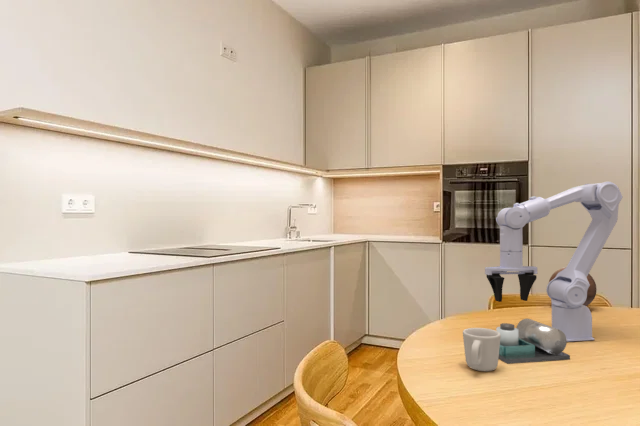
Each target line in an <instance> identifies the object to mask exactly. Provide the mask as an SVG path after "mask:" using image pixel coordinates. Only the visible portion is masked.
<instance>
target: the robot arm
mask: <svg viewBox="0 0 640 426" xmlns="http://www.w3.org/2000/svg"><path fill="white" fill-rule="evenodd" d="M528 199H529V200H526V201H523V202H520V203H519V202H515V203H513V206H512V207H505V208H504V207H503V208H502V209H501V210H500V211H498V213H497V217H495V221H496V223H497V225H498V226H499V266H488V267H487V266H486V267H484V275H486V278H487V281H488V283H489V284H490V286H491V289H492V291H493V296H494V299H495V301H496V302H498V303H500V302H501V303H502V302H503V287H504V281H505V277H503V276H501V275H517V278H518V282H519V296H520V300H521V301H524V302H528V299H529V294H530V292H531V289H532V287H533V285H534V283H535V282H536V280H537V274H538V266H532V265H531V266H529V265H528V266H526V265H523V257H524V256H523V253H524V252H523V251H524V250H523V248H524V247H523V246H524V245H523V243H524V242H523V236H524V235H523V228H524V227H525V226H526V224H530V223H532V222H534V221H536V220H537V221H538V220H540V219H542V218H545V217H548V216H549V214H550V211H551V210H554V209H556V208H557V209H558V208H560V207H563V206H566V205H569V204H572V203H580V204H581V206H583V207H584V209H585V210H586V211H587V213H588V214H589V215H590V217H591V221H590V223H589V225H588V227H587V228H586V231H585V232H584V233H583V236H582V238H581V239H580V241H579V243H578V245H577V247H576V249H575V250H574V252H573V255H572V256H571V258H570V260H569V262H568V264H566V265H567V266H565V267H566V268H565V269H564V270H562V271H561V272H559V273H558V274H557V275H556V277H555V278H554V279H553V280H551V281H550V282H549V281H548V283H547V285H546V289H545V290H546V294H547V296H548V298H550V301H551V302H550V303H551V327H553V328H556V329H558V330H561V331H562V332H563V333H564V334H565V336H566V339H567V343H568V342H581V341H582V342H583V341H585V342H586V341H594V340H595V338H594V336H593V315H592V312H591V309H590V308H589V307H588V306H585V305H582V304H584V302H585V301H586V299H587V290H588V288H589V286H590V284H589V282H588V280H587V276H588V274H590V273H591V270H592V268H593V266H594V265H595V263H596V262H597V259H598V257H599V255H600V254H601V252H602V250H603V248H604V246H605V244H606V243H607V241H608V239H609V238H610V235H611V233H612V232H613V230H614V228H615V227H616V224H617V222H618V218H619V205H620V203H621V201H622V200H623V194H622V192H621V190H620V188H619V186H618V185H617V184H616V183H614V182H612V181H603V182H597V183H585V184H582V185H577V186H573V187H570V188H569V189H566V190H564V191H562V192H561V191H560V192H559V193H556V194H554V195H552V196H549V197H547V198H543V197H542V196H536V195H535V196H529V198H528Z"/></svg>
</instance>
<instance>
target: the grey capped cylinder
mask: <svg viewBox="0 0 640 426" xmlns="http://www.w3.org/2000/svg"><path fill="white" fill-rule="evenodd" d="M495 331H497V332H499V333H500V335H501V338H500V345H502V346H519V338H518V329H517V328H516V327H515V324H513V323H507V322H503V323H500V325H499V326H497V327H496V329H495Z"/></svg>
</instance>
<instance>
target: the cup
mask: <svg viewBox="0 0 640 426" xmlns="http://www.w3.org/2000/svg"><path fill="white" fill-rule="evenodd" d="M462 337H463V338H462V339H463V348H464V355H465V356H464V357H465V363H466V365H467V366H468V367H469V368H470V369H472V370H475V371H479V372H492V371H495V370H496V369H497V367H498V365H499V359H498V358H499V348H500V338H501V335H500V333H499V332H497V331H496V329H492V328H485V327H469V328H466V329H465V328H464V330H462Z"/></svg>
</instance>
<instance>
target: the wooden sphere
mask: <svg viewBox="0 0 640 426" xmlns="http://www.w3.org/2000/svg"><path fill="white" fill-rule="evenodd" d="M566 267H567V266H564V267H561V268H559V269H557V270H556V271H554V272H553V273H552V275H551V276H550V278H549V281H548V283H549V282H550V281H551V280H553V279H554V278H555V277H556V275H557V274H558V273H559V272H561V271H562V270H564V269H565V268H566ZM587 280H588V282H589V284H590V286H589V288H588V290H587V299H586V301H585V302H584V304H582V305H585V306H586V307H588V306H589V305H590V304H591V303H592V302H594V300H595V298H596V296H597V284H596V282H595V278H593V276H592V275H591V274H590V273H589V274H588V276H587Z"/></svg>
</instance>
